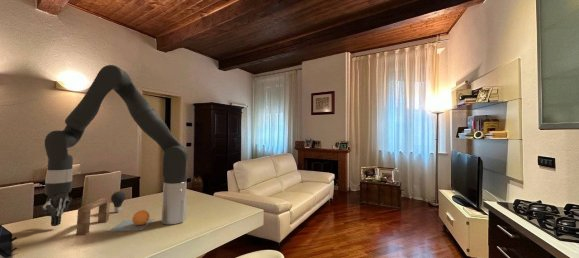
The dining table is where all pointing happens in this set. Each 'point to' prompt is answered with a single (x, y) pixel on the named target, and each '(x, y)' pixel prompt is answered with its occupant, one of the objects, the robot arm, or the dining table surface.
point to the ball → (140, 217)
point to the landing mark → (129, 226)
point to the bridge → (84, 215)
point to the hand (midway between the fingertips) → (55, 225)
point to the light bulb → (118, 200)
